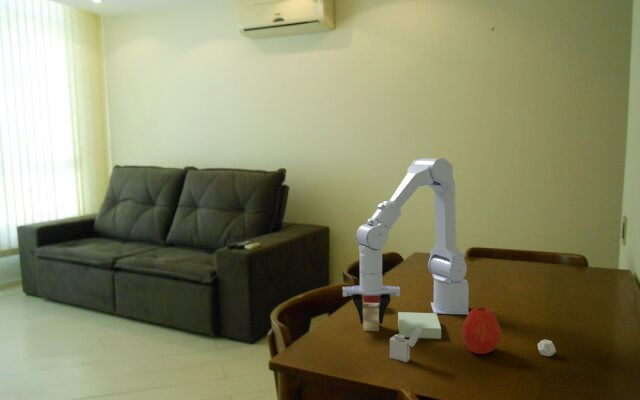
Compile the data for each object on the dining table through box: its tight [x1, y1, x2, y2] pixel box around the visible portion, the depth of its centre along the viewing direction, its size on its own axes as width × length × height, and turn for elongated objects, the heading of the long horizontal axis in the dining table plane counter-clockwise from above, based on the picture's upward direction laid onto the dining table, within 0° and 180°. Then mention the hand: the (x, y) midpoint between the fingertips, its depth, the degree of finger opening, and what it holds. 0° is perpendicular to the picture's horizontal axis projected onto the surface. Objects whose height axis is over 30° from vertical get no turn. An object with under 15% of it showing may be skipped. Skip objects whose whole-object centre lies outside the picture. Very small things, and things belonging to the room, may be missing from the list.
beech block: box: [362, 302, 380, 332], centre depth 114 cm, size 4×4×6 cm
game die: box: [537, 338, 557, 357], centre depth 98 cm, size 4×4×3 cm
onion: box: [362, 295, 380, 304], centre depth 129 cm, size 6×6×8 cm
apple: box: [462, 305, 502, 355], centre depth 99 cm, size 8×8×11 cm
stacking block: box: [397, 311, 442, 340], centre depth 113 cm, size 10×10×3 cm
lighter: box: [389, 326, 423, 363], centre depth 96 cm, size 7×2×8 cm, turn 54°
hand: (371, 322), depth 114 cm, fingers closed on beech block, 4 cm apart
